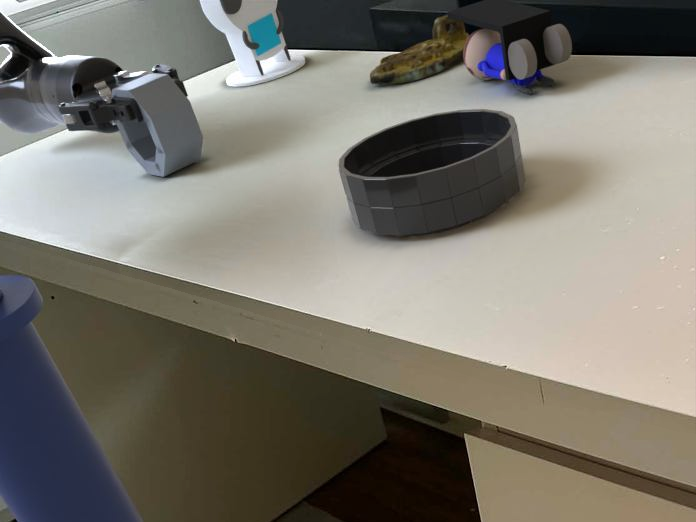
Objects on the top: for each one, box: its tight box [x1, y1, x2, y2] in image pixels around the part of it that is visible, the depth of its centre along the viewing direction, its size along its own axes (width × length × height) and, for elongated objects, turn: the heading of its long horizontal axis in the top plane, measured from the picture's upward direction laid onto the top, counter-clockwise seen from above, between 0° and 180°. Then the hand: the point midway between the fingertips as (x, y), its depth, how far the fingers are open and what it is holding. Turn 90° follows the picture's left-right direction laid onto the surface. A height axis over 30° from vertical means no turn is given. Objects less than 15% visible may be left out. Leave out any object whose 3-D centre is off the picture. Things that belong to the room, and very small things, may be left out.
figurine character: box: [446, 0, 573, 96], centre depth 100 cm, size 7×8×15 cm
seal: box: [369, 14, 470, 85], centre depth 114 cm, size 9×5×15 cm
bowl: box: [337, 108, 526, 238], centre depth 79 cm, size 15×15×5 cm
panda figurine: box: [199, 0, 306, 88], centre depth 125 cm, size 12×11×15 cm
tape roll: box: [112, 72, 204, 178], centre depth 102 cm, size 9×5×9 cm, turn 46°
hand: (159, 101), depth 99 cm, fingers closed on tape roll, 5 cm apart
